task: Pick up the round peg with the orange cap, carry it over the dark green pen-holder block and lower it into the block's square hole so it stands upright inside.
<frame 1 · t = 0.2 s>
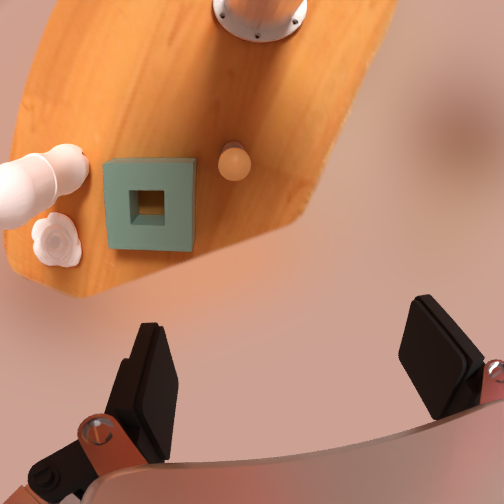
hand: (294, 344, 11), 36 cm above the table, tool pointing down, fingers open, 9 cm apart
socket block: (154, 198, 44), on the table
water bottle: (74, 164, 41), on the table
rose: (60, 238, 46), on the table
round peg: (233, 152, 42), on the table
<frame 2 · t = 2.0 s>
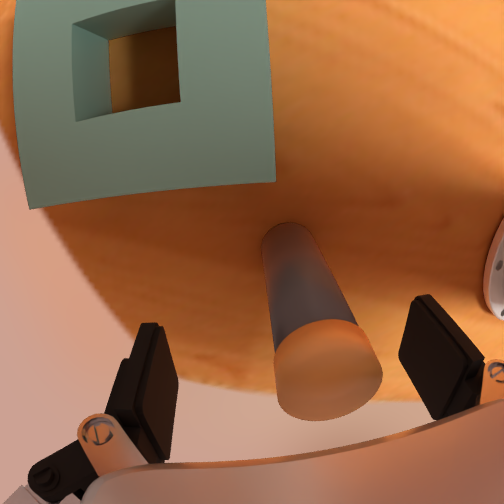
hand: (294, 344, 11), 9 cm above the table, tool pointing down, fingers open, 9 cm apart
socket block: (149, 69, 15), on the table
round peg: (288, 248, 19), on the table
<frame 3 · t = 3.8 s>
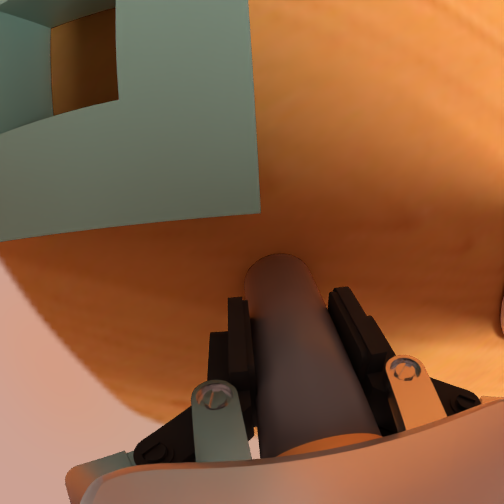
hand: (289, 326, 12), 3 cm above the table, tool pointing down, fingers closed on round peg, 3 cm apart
socket block: (97, 60, 10), on the table
round peg: (278, 284, 15), on the table, touching gripper
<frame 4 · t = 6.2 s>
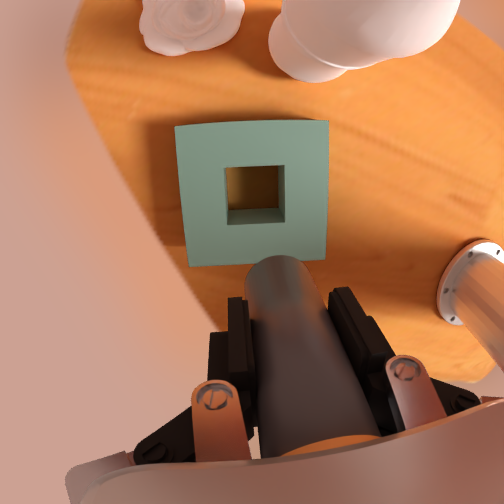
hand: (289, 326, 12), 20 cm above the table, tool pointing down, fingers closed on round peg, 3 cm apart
socket block: (252, 184, 30), on the table
water bottle: (304, 50, 25), on the table
rose: (192, 14, 23), on the table
round peg: (278, 285, 15), point 17 cm above the table, touching gripper
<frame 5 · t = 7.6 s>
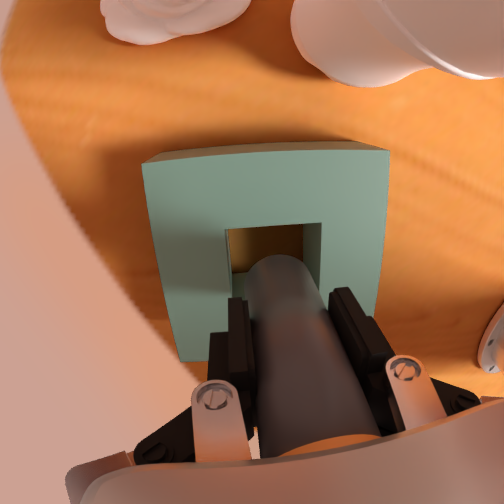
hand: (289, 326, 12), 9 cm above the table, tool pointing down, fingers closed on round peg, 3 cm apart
socket block: (266, 237, 21), on the table
water bottle: (340, 37, 16), on the table
round peg: (278, 285, 15), point 6 cm above the table, touching gripper
when the fingers open (6 cm above the table, at t = 8.6 s): round peg drops 3 cm, resting in socket block.
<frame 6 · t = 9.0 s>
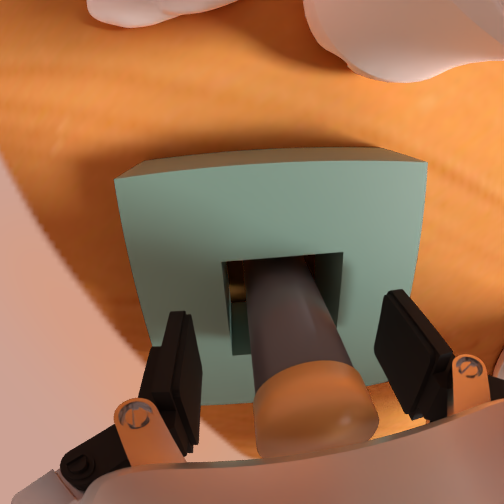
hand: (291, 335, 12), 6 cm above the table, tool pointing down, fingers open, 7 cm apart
socket block: (271, 261, 17), on the table
water bottle: (360, 22, 13), on the table
round peg: (272, 262, 17), resting in socket block
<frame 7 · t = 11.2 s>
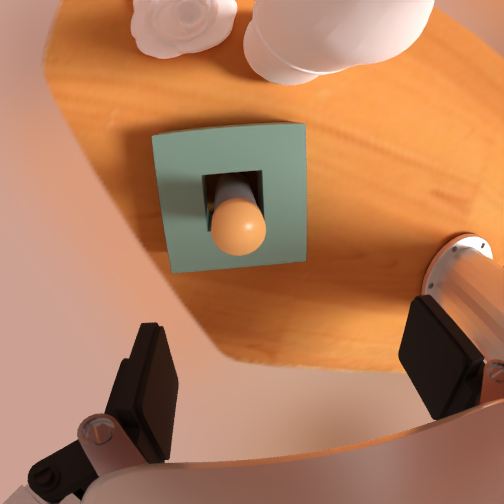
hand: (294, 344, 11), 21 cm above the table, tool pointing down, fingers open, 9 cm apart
socket block: (232, 188, 30), on the table
water bottle: (280, 51, 25), on the table
rose: (183, 15, 23), on the table
round peg: (232, 188, 30), resting in socket block
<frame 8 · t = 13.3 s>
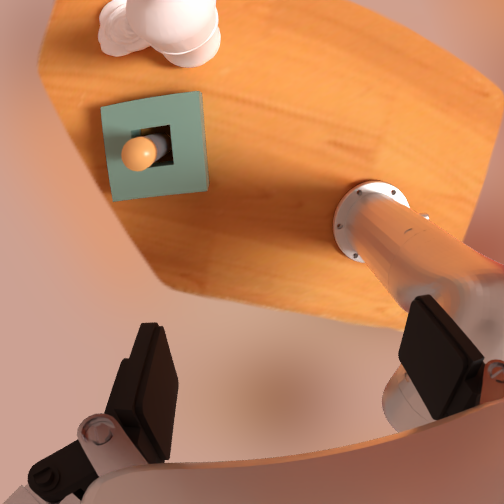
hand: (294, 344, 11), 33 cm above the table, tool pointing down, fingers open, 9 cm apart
socket block: (159, 143, 39), on the table
water bottle: (193, 45, 34), on the table
rose: (133, 25, 32), on the table
round peg: (160, 144, 39), resting in socket block
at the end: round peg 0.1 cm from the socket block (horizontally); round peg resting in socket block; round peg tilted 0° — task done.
